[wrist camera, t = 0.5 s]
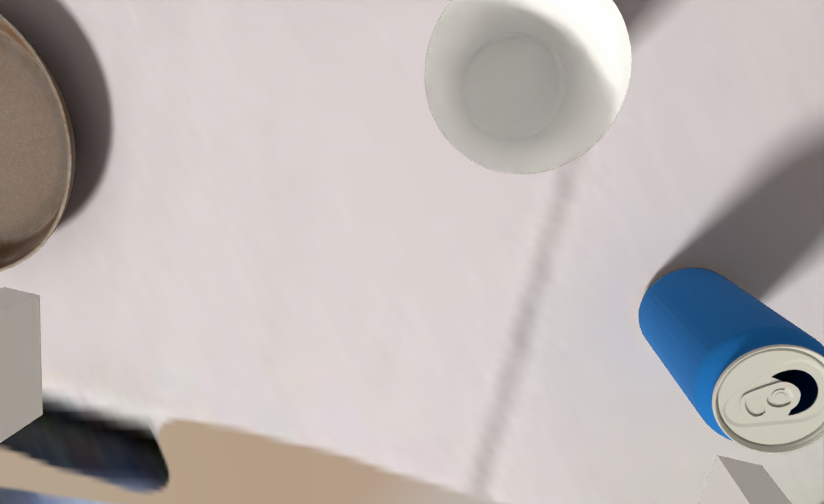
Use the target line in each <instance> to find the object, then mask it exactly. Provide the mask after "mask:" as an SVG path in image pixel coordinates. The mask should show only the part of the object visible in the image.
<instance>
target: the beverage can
mask: <svg viewBox="0 0 824 504" xmlns="http://www.w3.org/2000/svg"><path fill="white" fill-rule="evenodd" d="M639 324H640V328H641V331H642V333H643V335H644V337H645V338H646V340H647V341H648V343H649V344H650V346H651V347H652V348H653V350H654V351H655V353H656V354H657V355H658V357H659V358H660V360H661V361H662V362H663V364H664V365H665V367H666V368H667V369H668V371H669V372H670V374H671V375H672V376H673V378H674V379H675V381H676V382H677V383H678V385H679V386H680V388H681V389H682V390H683V392H684V393H685V395H686V396H687V397H688V399H689V400H690V402H691V403H692V404H693V406H694V407H695V409H696V410H697V411H698V413H699V414H700V416H701V417H702V418H703V420H704V421H705V422H706V423H707V424H708V425H709V426H710V427H711V428H712V429H713V430H714V431H716V432H717V433H718V434H720V435H722V436H723V437H725V438H727V439H729V440H732V441H734V442H735V443H737V444H739V445H740V446H742V447H745V448H747V449H749V450H753V451H756V452H762V453H773V454H776V453H787V452H792V451H796V450H800V449H802V448H805V447H808V446H810V445H812V444H813V443H815V442H817V441H818V440H820V439H821V438H823V437H824V346H823V345H822V344H821V343H820V342H818V341H817V340H816V339H814V338H813V337H812V336H810V335H809V334H807V333H806V332H804V331H803V330H801V329H800V328H798V327H797V326H795V325H794V324H792V323H791V322H789V321H788V320H786V319H785V318H784V317H782V316H781V315H779V314H778V313H776V312H775V311H773V310H772V309H770V308H769V307H767V306H766V305H764V304H763V303H761V302H760V301H758V300H757V299H756V298H754V297H753V296H751V295H750V294H748V293H747V292H745V291H744V290H742V289H741V288H739V287H738V286H736V285H735V284H733V283H732V282H730V281H729V280H727V279H726V278H725V277H723V276H721V275H720V274H718V273H716V272H713V271H710V270H706V269H700V268H686V269H681V270H676V271H674V272H671V273H669V274H667V275H665V276H663V277H661V278H660V279H658V280H657V281H656V282H655V283H654V284H653V285H652V286H651V287H650V288H649V289H648V290H647V292H646V293H645V295H644V297H643V299H642V301H641V304H640V308H639Z"/></svg>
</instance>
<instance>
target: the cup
mask: <svg viewBox="0 0 824 504" xmlns="http://www.w3.org/2000/svg"><path fill="white" fill-rule="evenodd" d="M630 74H631V47H630V40H629V36H628V32H627V28H626V25H625V22H624V20H623V18H622V16H621V13H620V11H619V10H618V8H617V6H616V4H615V3H614V2H613V0H452V1H451V2H450V3H449V5H448V6H447V7H446V9H445V10H444V12H443V13H442V15H441V16H440V18H439V20H438V22H437V24H436V26H435V28H434V30H433V33H432V36H431V38H430V41H429V45H428V49H427V54H426V59H425V89H426V95H427V100H428V103H429V107H430V110H431V112H432V115H433V117H434V120H435V121H436V123H437V125H438V127H439V129H440V130H441V132H442V133H443V135H444V136H445V137H446V139H447V140H448V141H449V142H450V143H451V144H452V145H453V146H454V148H455V149H457V150H458V151H459V152H460V153H461V154H462V155H464V156H465V157H467V158H468V159H470V160H471V161H473V162H475V163H477V164H478V165H481V166H483V167H485V168H488V169H491V170H494V171H498V172H502V173H509V174H534V173H540V172H545V171H549V170H552V169H555V168H558V167H560V166H563V165H565V164H567V163H569V162H571V161H573V160H574V159H576V158H578V157H579V156H581V155H582V154H584V153H585V152H586V151H588V150H589V149H590V148H591V147H592V146H593V145H594V144H596V143H597V142H598V141H599V140H600V138H601V137H602V136H603V135H604V134H605V133H606V131H607V130H608V129H609V127H610V126H611V125H612V123H613V121H614V120H615V118H616V117H617V115H618V113H619V111H620V109H621V107H622V104H623V102H624V99H625V96H626V93H627V89H628V86H629V80H630Z"/></svg>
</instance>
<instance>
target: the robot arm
mask: <svg viewBox="0 0 824 504" xmlns="http://www.w3.org/2000/svg"><path fill="white" fill-rule="evenodd" d="M41 415H42V373H41V331H40V295H36V294H32V293H27V292H23V291H19V290H15V289H10V288H6V287H4V288H1V289H0V443H1V442H2V441H4V440H5V439H7V438H8V437H10V436H11V435H13V434H14V433H16V432H17V431H19V430H20V429H22V428H23V427H25V426H26V425H28V424H29V423H30V422H32V421H33V420H35V419H36V418H38V417H39V416H41ZM698 504H791V502H790V501H789V500H788V499H787V497H786V496H785V495H784V493H783V492H782V491H781V490H780V488H779V487H778V486H777V484H776V483H775V482H774V481H773V479H772V478H771V477H770V475H769V474H768V473H767V472H766V470H765V469H764V468H763V466H761V465H756V464H752V463H748V462H744V461H739V460H735V459H731V458H727V457H722V456H718V455H717V457H716V459H715V462H714V464H713V467H712V469H711V472H710V474H709V476H708V479H707V481H706V484H705V486H704V489H703V491H702V494H701V496H700V499H699V501H698Z"/></svg>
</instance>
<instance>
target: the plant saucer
mask: <svg viewBox="0 0 824 504" xmlns="http://www.w3.org/2000/svg"><path fill="white" fill-rule="evenodd" d="M75 167H76V151H75V139H74V133H73V128H72V123H71V119H70V116H69V112H68V109H67V106H66V103H65V100H64V98H63V96H62V93H61V91H60V89H59V87H58V85H57V83H56V81H55V79H54V77H53V75H52V74H51V72H50V70H49V69H48V67H47V66H46V64H45V63H44V61H43V60H42V58H41V57H40V55H39V54H38V53H37V51H36V50H35V49H34V47H33V46H32V45H31V44H30V43H29V42H28V40H27V39H26V38H25V37H24V36H23V35H22V34H21V33H20V32H19V31H18V30H17V29H16V28H15V27H14V26H13V25H12V24H11V23H10V22H9V21H8V20H7V19H6V18H5V17H3V16H2V15H1V14H0V271H4V270H7V269H9V268H12V267H14V266H16V265H18V264H20V263H22V262H23V261H25V260H26V259H28V258H29V257H31V256H32V255H33V254H35V253H36V252H37V251H38V250H39V249H40V248H41V247H42V246H43V245H44V243H45V242H46V241H47V240H48V238H49V237H50V236H51V235H52V233H53V232H54V231H55V229H56V227H57V226H58V224H59V222H60V221H61V219H62V217H63V215H64V213H65V210H66V208H67V205H68V202H69V199H70V196H71V192H72V188H73V183H74V177H75Z"/></svg>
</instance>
